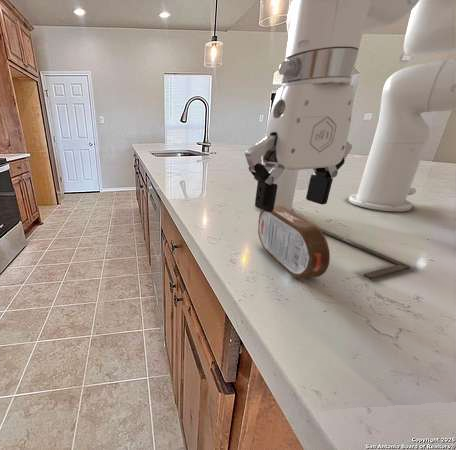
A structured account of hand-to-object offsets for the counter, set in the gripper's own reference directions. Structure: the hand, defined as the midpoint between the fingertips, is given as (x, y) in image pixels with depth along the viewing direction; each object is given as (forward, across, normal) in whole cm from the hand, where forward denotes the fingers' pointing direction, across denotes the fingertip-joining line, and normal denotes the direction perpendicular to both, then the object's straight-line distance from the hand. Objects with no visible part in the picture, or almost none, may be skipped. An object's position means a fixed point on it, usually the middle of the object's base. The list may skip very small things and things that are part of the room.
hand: (290, 205), depth 37 cm
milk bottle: (+10, +18, +21) cm, 29 cm away
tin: (+10, 0, 0) cm, 10 cm away
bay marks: (+10, +12, +2) cm, 16 cm away
